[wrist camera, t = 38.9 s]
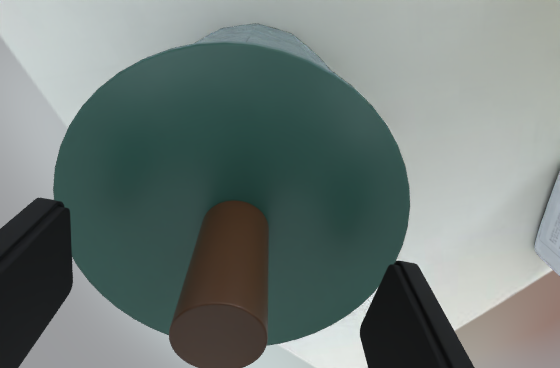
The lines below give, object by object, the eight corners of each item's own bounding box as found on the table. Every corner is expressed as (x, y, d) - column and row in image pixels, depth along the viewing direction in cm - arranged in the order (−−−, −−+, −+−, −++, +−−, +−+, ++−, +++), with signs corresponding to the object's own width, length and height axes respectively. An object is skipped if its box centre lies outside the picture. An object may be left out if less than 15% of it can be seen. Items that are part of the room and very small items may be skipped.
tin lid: (405, 12, 11) (531, 22, 6) (396, 310, 17) (455, 456, 11) (8, 67, 12) (-221, 124, 6) (130, 339, 17) (67, 492, 12)
